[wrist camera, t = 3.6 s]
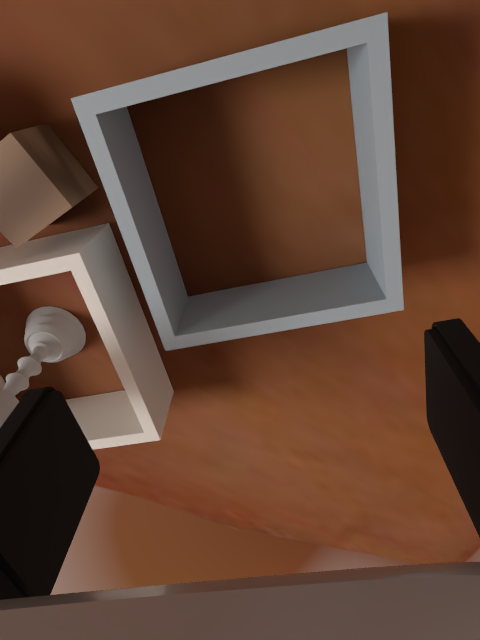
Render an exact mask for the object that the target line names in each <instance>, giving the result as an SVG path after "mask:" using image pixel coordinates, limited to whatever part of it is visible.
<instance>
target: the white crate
mask: <svg viewBox="0 0 480 640" xmlns="http://www.w3.org/2000/svg"><path fill="white" fill-rule="evenodd" d="M66 271H71V272H72V274H73V276H74V278H75V281H76V283H77V285H78V287H79V289H80V292H81V294H82V296H83V298H84V301H85V303H86V305H87V307H88V309H89V312H90V314H91V316H92V318H93V320H94V323H95V325H96V327H97V329H98V331H99V334H100V336H101V338H102V340H103V342H104V345H105V347H106V349H107V351H108V353H109V356H110V358H111V360H112V362H113V365H114V367H115V369H116V371H117V373H118V376H119V378H120V380H121V382H122V384H123V387H124V389H125V390H123V391H116V392H110V393H104V394H98V395H91V396H85V397H79V398H73V399H67V400H66V402H67V404H68V406H69V407H70V409H71V411H72V413H73V415H74V417H75V418H76V420H77V422H78V424H79V426H80V428H81V429H82V431H83V433H84V435H85V437H86V439H87V440H88V442H89V444H90V446H91V448H92V450H93V449H100V448H108V447H115V446H122V445H129V444H136V443H143V442H150V441H158V440H161V436H162V433H163V429H164V425H165V422H166V418H167V414H168V411H169V407H170V404H171V400H172V396H173V393H174V391H173V388H172V385H171V383H170V380H169V378H168V375H167V372H166V370H165V367H164V365H163V362H162V359H161V357H160V354H159V352H158V349H157V346H156V344H155V341H154V339H153V336H152V334H151V331H150V328H149V326H148V323H147V321H146V318H145V315H144V313H143V310H142V308H141V305H140V302H139V300H138V297H137V295H136V292H135V289H134V287H133V284H132V282H131V279H130V276H129V274H128V271H127V269H126V266H125V263H124V261H123V258H122V256H121V253H120V250H119V248H118V245H117V243H116V240H115V237H114V235H113V232H112V230H111V227H110V224H109V223H106V224H101V225H97V226H93V227H88V228H84V229H79V230H75V231H70V232H66V233H61V234H57V235H52V236H48V237H43V238H39V239H34V240H30V241H26V242H25V243H24V244H22V245H21V246H19V247H18V248H17V249H16V248H15V247H14V246H13V244H12V245H7V246H3V247H0V285H4V284H9V283H14V282H19V281H23V280H28V279H33V278H38V277H42V276H47V275H52V274H57V273H62V272H66ZM5 384H6V383H5V381H4V380H3V378H2V377H1V375H0V389H2V390H3V388H4V386H5Z"/></svg>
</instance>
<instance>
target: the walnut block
mask: <svg viewBox="0 0 480 640" xmlns="http://www.w3.org/2000/svg"><path fill="white" fill-rule="evenodd" d="M97 189H98V186H97V185H96V184H95V183H94V181H93V180H92V179H91V178H90V176H89V175H88V174H87V172H86V171H85V170H84V169H83V167H82V166H81V165H80V164H79V162H78V161H77V160H76V159H75V157H74V156H73V155H72V153H71V152H70V151H69V150H68V148H67V147H66V146H65V145H64V143H63V142H62V141H61V139H60V138H59V137H58V136H57V134H56V133H55V132H54V131H53V129H52V128H51V127H50V125H49V124H48V123H46V124H42V125H38V126H34V127H30V128H27V129H23V130H19V131H15V132H11V133H9V134H8V135H7V136H6V137H5V138H4V139H2V140H1V141H0V232H1V233H2V234H3V235H4V236H5V237H6V238H7V239H8V240H9V241H10V242H11V243H12V244H13V246H14V247H15V248H16V249H17V248H18V247H19V246H21V245H22V244H24V243H25V242H26V241H28V240H29V239H30V238H32V237H33V236H35V235H36V234H37V233H39V232H40V231H41V230H43V229H44V228H45V227H47V226H48V225H50V224H51V223H52V222H54V221H55V220H56V219H58V218H59V217H60V216H62V215H63V214H64V213H66V212H67V211H68V210H70V209H71V208H72V207H74V206H75V205H76V204H78V203H79V202H81V201H82V200H83V199H85V198H86V197H87V196H89V195H90V194H91V193H93V192H94V191H95V190H97Z"/></svg>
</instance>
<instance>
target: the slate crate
mask: <svg viewBox="0 0 480 640" xmlns="http://www.w3.org/2000/svg"><path fill="white" fill-rule="evenodd" d="M345 48H347V59H348V69H349V79H350V90H351V100H352V111H353V121H354V132H355V142H356V152H357V163H358V173H359V184H360V194H361V205H362V215H363V225H364V236H365V246H366V257H367V263H362V264H356V265H351V266H346V267H340V268H335V269H330V270H325V271H319V272H314V273H309V274H304V275H298V276H293V277H288V278H283V279H277V280H272V281H267V282H262V283H256V284H251V285H246V286H241V287H235V288H230V289H225V290H220V291H214V292H209V293H204V294H199V295H193V296H188V295H187V292H186V289H185V286H184V283H183V280H182V276H181V273H180V270H179V267H178V264H177V261H176V258H175V255H174V252H173V249H172V245H171V242H170V239H169V236H168V233H167V230H166V227H165V224H164V221H163V217H162V214H161V211H160V208H159V205H158V202H157V199H156V196H155V193H154V190H153V186H152V183H151V180H150V177H149V174H148V171H147V168H146V165H145V162H144V159H143V155H142V152H141V149H140V146H139V143H138V140H137V137H136V134H135V131H134V128H133V124H132V121H131V118H130V115H129V112H128V109H127V106H130V105H134V104H138V103H141V102H145V101H149V100H153V99H156V98H160V97H164V96H168V95H172V94H175V93H179V92H183V91H187V90H190V89H194V88H198V87H202V86H206V85H209V84H213V83H217V82H221V81H224V80H228V79H232V78H236V77H240V76H243V75H247V74H251V73H255V72H258V71H262V70H266V69H270V68H274V67H277V66H281V65H285V64H289V63H293V62H296V61H300V60H304V59H308V58H311V57H315V56H319V55H323V54H327V53H330V52H334V51H338V50H342V49H345ZM71 101H72V104H73V107H74V109H75V112H76V115H77V117H78V120H79V122H80V125H81V128H82V130H83V133H84V136H85V138H86V141H87V144H88V146H89V149H90V152H91V154H92V157H93V160H94V162H95V165H96V168H97V170H98V173H99V176H100V178H101V181H102V184H103V186H104V189H105V192H106V194H107V197H108V200H109V202H110V205H111V208H112V210H113V213H114V216H115V218H116V221H117V224H118V226H119V229H120V232H121V234H122V237H123V240H124V242H125V245H126V248H127V250H128V253H129V256H130V258H131V261H132V264H133V266H134V269H135V272H136V274H137V277H138V279H139V282H140V285H141V287H142V290H143V293H144V295H145V298H146V301H147V303H148V306H149V309H150V311H151V314H152V317H153V319H154V322H155V325H156V327H157V330H158V333H159V335H160V338H161V341H162V343H163V346H164V349H165V351H169V350H174V349H180V348H186V347H192V346H198V345H203V344H209V343H215V342H221V341H227V340H233V339H238V338H244V337H250V336H256V335H262V334H267V333H273V332H279V331H285V330H291V329H296V328H302V327H308V326H314V325H320V324H325V323H331V322H337V321H343V320H349V319H354V318H360V317H366V316H372V315H378V314H384V313H389V312H395V311H401V310H404V304H403V286H402V268H401V250H400V232H399V213H398V195H397V177H396V159H395V141H394V123H393V105H392V86H391V68H390V50H389V32H388V14H387V12H386V13H382V14H378V15H375V16H371V17H367V18H364V19H360V20H356V21H353V22H349V23H345V24H342V25H338V26H334V27H331V28H327V29H323V30H320V31H316V32H312V33H309V34H305V35H301V36H298V37H294V38H290V39H287V40H283V41H279V42H276V43H272V44H268V45H265V46H261V47H257V48H254V49H250V50H246V51H243V52H239V53H235V54H232V55H228V56H224V57H221V58H217V59H213V60H210V61H206V62H202V63H199V64H195V65H191V66H188V67H184V68H180V69H177V70H173V71H169V72H166V73H162V74H158V75H155V76H151V77H147V78H144V79H140V80H136V81H133V82H129V83H125V84H122V85H118V86H115V87H111V88H107V89H104V90H100V91H96V92H93V93H89V94H85V95H82V96H78V97H74V98H71Z"/></svg>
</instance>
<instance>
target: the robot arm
mask: <svg viewBox="0 0 480 640" xmlns="http://www.w3.org/2000/svg"><path fill="white" fill-rule="evenodd" d="M424 343H425V375H426V407H427V421H428V425H429V428H430V431H431V433H432V435H433V437H434V440H435V442H436V444H437V446H438V448H439V450H440V453H441V455H442V457H443V459H444V461H445V463H446V466H447V468H448V470H449V472H450V474H451V476H452V479H453V481H454V483H455V485H456V487H457V489H458V492H459V494H460V496H461V498H462V500H463V502H464V505H465V507H466V509H467V511H468V513H469V515H470V518H471V520H472V522H473V524H474V526H475V528H476V531H477V533H478V535H479V537H480V343H479V342H478V340H477V339H476V338H475V337H474V335H473V334H472V333H471V331H470V330H469V329H468V328H467V326H466V325H465V324H464V323H463V321H462V320H461V319H452V320H446V321H440V322H434V323H433V324H432V329H429V330H425V333H424ZM99 471H100V465H99V461H98V459H97V457H96V455H95V453H94V451H93V450H92V448H91V446H90V444H89V442H88V440H87V439H86V437H85V435H84V433H83V431H82V429H81V428H80V426H79V424H78V422H77V420H76V418H75V417H74V415H73V413H72V411H71V409H70V407H69V406H68V404H67V402H66V400H65V398H64V396H63V395H62V393H61V392H59V391H56V390H55V389H54V388H53V387H44V388H38V389H32V390H29V391H27V392H26V393H25V394H24V396H23V397H22V399H21V400H20V401H19V403H18V404H17V405H16V407H15V408H14V410H13V411H12V412H11V414H10V415H9V416H8V418H7V419H6V420H5V422H4V423H3V425H2V426H1V427H0V640H480V562H448V563H433V564H418V565H404V566H403V565H402V566H387V567H372V568H358V569H346V570H334V571H321V572H310V573H297V574H285V575H273V576H260V577H248V578H236V579H226V580H213V581H202V582H190V583H179V584H167V585H156V586H145V587H134V588H123V589H111V590H100V591H90V592H79V593H68V594H58V595H50V593H51V592H52V589H53V587H54V584H55V582H56V579H57V577H58V574H59V572H60V569H61V567H62V564H63V562H64V559H65V557H66V554H67V552H68V549H69V547H70V545H71V542H72V540H73V537H74V535H75V532H76V530H77V527H78V525H79V522H80V520H81V517H82V515H83V512H84V510H85V507H86V505H87V502H88V500H89V497H90V495H91V492H92V490H93V487H94V485H95V483H96V480H97V478H98V475H99Z"/></svg>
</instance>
